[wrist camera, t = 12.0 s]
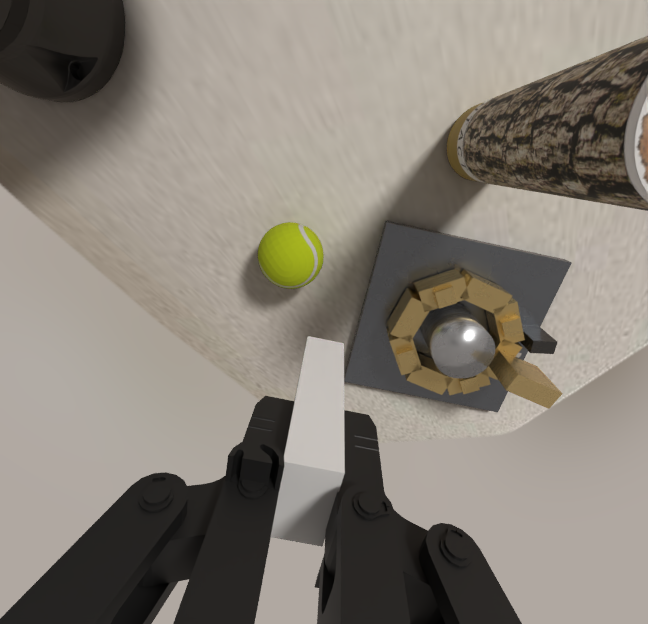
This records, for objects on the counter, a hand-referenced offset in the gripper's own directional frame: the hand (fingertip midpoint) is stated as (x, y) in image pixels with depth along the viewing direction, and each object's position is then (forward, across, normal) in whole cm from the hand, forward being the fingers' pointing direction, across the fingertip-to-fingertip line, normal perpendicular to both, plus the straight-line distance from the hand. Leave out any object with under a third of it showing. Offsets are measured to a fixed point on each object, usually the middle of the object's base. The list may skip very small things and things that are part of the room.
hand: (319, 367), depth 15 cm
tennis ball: (+27, -4, -2) cm, 27 cm away
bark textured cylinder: (+27, +12, +12) cm, 32 cm away
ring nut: (+25, +16, -7) cm, 31 cm away
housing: (+26, +15, -7) cm, 31 cm away
